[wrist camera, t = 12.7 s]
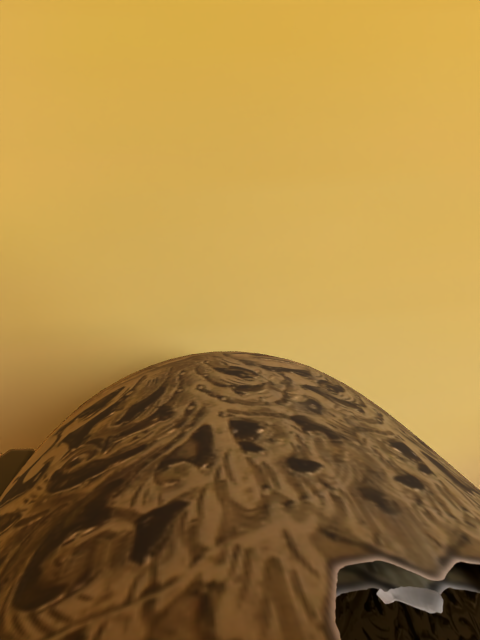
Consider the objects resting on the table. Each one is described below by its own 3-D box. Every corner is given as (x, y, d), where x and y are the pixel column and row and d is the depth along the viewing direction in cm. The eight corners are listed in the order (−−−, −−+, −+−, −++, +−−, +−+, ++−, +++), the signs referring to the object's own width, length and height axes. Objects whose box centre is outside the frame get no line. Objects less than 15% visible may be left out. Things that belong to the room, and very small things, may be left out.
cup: (17, 533, 11) (-317, 1416, 3) (43, 222, 8) (-962, 884, 1) (312, 547, 12) (533, 1152, 5) (405, 292, 10) (1102, 727, 3)
